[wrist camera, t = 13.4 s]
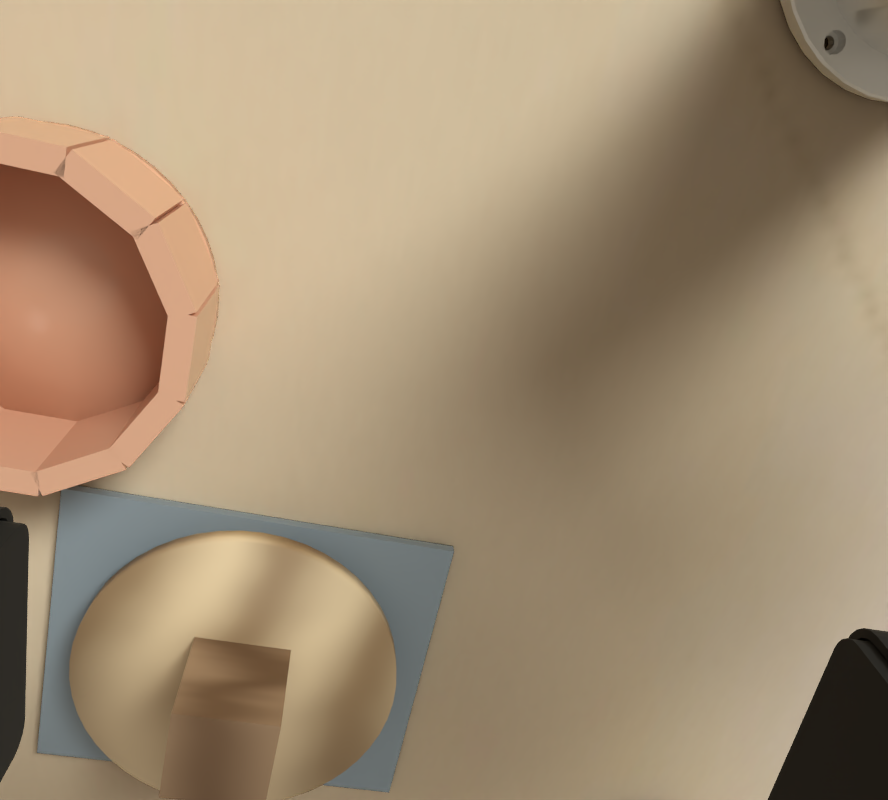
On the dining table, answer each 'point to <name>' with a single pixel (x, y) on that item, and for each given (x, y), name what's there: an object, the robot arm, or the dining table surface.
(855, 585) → the dining table surface
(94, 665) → the lid
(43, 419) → the bowl
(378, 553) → the mat
